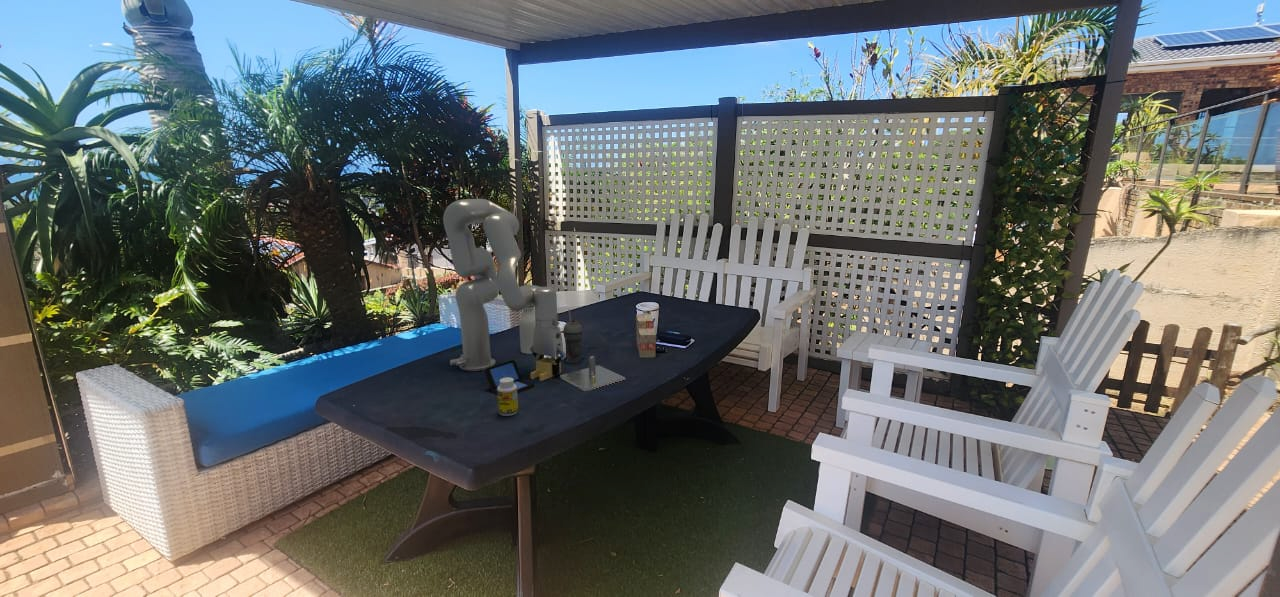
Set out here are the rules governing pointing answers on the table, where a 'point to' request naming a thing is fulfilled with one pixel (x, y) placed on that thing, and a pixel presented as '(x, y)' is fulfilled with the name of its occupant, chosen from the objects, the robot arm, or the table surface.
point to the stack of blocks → (645, 335)
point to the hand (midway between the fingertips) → (548, 372)
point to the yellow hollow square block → (543, 369)
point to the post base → (584, 377)
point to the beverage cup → (573, 340)
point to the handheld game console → (506, 371)
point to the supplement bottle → (507, 397)
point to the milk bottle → (527, 329)
